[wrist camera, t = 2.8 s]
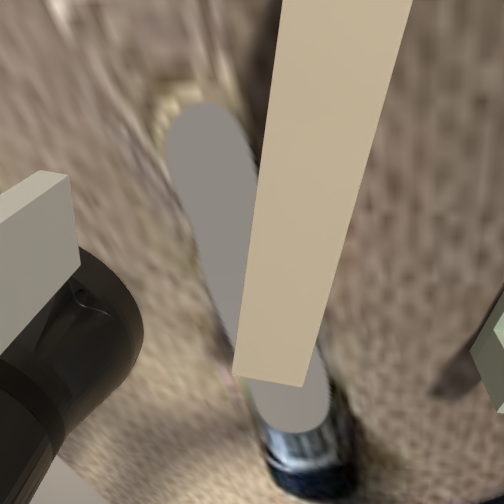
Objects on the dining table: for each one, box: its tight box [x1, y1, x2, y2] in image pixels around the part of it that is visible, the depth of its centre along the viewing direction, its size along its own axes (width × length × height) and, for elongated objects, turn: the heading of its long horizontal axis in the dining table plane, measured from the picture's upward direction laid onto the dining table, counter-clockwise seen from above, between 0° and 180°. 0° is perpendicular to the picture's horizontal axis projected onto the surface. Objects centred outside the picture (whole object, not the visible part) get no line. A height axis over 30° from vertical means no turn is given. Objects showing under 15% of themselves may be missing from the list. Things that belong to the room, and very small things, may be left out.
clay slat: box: [231, 0, 413, 388], centre depth 18 cm, size 20×4×9 cm, turn 173°
